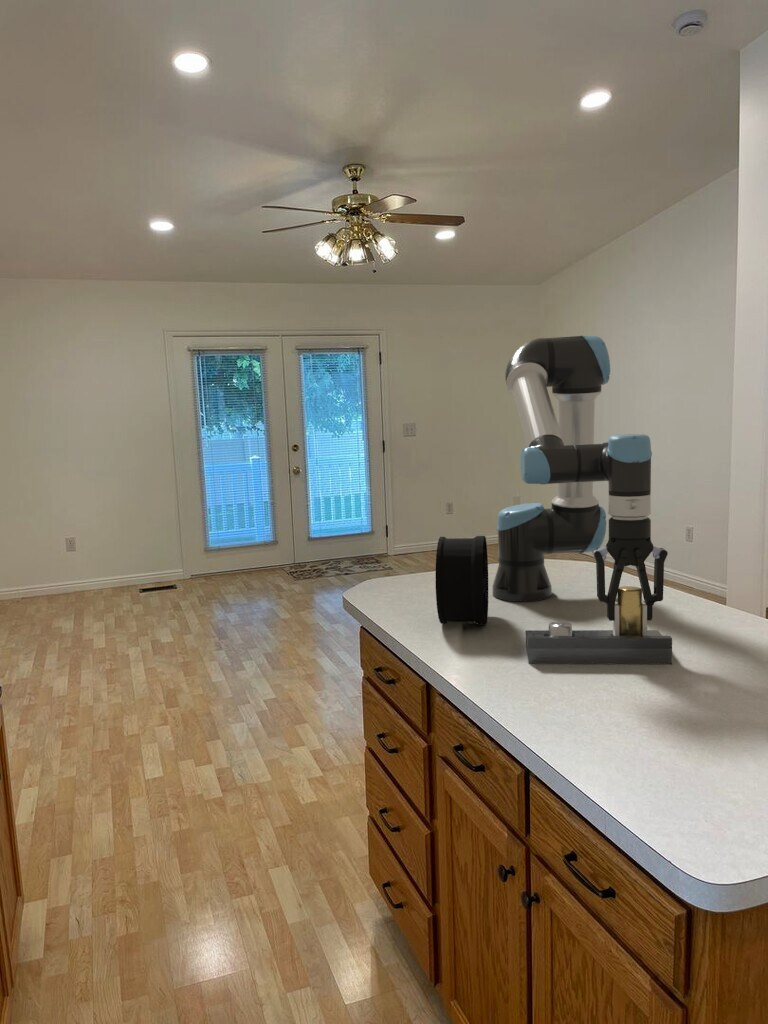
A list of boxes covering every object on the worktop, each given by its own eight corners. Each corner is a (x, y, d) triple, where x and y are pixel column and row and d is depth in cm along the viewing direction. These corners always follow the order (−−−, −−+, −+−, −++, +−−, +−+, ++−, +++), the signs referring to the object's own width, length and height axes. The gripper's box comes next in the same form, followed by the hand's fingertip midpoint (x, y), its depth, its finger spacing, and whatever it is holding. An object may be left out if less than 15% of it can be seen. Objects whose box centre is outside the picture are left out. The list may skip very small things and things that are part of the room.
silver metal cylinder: (548, 650, 141) (547, 621, 140) (570, 650, 140) (570, 621, 139) (550, 657, 136) (549, 628, 135) (573, 657, 136) (573, 628, 135)
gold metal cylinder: (615, 635, 138) (615, 586, 137) (639, 635, 137) (639, 586, 136) (619, 643, 134) (619, 592, 132) (644, 643, 133) (644, 591, 132)
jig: (525, 644, 144) (525, 621, 144) (658, 644, 140) (658, 620, 140) (528, 663, 134) (528, 638, 133) (671, 664, 130) (672, 638, 129)
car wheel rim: (484, 636, 151) (481, 545, 148) (437, 635, 153) (433, 545, 150) (489, 610, 170) (486, 528, 167) (447, 609, 172) (444, 529, 170)
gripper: (584, 521, 130) (585, 642, 133) (683, 518, 127) (682, 642, 130) (579, 515, 137) (580, 630, 141) (672, 512, 135) (672, 630, 138)
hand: (629, 636), depth 135 cm, fingers closed on gold metal cylinder, 4 cm apart
